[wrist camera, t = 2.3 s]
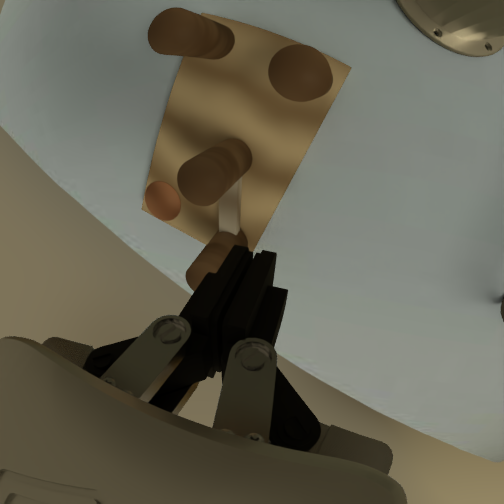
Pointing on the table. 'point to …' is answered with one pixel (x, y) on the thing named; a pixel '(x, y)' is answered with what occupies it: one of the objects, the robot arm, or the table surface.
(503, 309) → the newton's cradle
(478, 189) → the table surface
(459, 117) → the table surface
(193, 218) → the stool seat
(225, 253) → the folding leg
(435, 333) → the table surface
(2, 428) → the robot arm
